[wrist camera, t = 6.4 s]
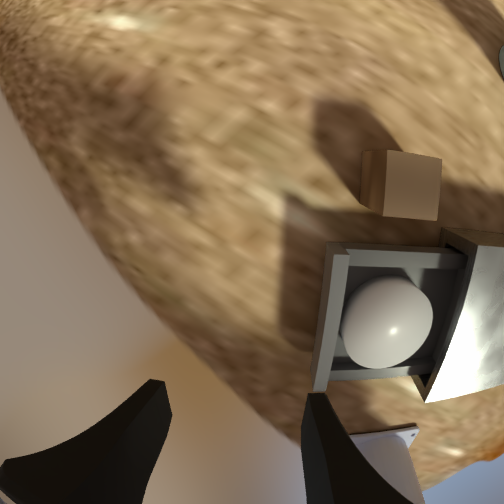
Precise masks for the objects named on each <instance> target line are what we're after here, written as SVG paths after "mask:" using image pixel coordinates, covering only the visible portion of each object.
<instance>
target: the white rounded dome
mask: <svg viewBox="0 0 504 504" xmlns="http://www.w3.org/2000/svg"><path fill="white" fill-rule="evenodd" d="M432 319H433V312H432V307H431V304H430V302H429V300H428V298H427V297H426V296H425V294H424V293H423V292H422V291H421V290H420V289H419V288H418V287H417V286H416V285H415V284H414V283H413V282H411V281H410V280H409V279H407V278H405V277H402V276H399V275H382V276H378V277H375V278H373V279H370V280H368V281H366V282H365V283H363V284H362V285H360V286H359V287H358V288H357V289H356V290H355V291H353V293H352V294H351V295H350V296H349V297H348V299H347V300H346V302H345V304H344V306H343V308H342V313H341V319H340V325H339V328H340V333H341V336H342V339H343V342H344V345H345V348H346V351H347V353H348V355H349V356H350V357H351V359H352V360H353V361H355V362H356V363H357V364H359V365H361V366H363V367H367V368H372V369H381V368H387V367H391V366H394V365H397V364H399V363H401V362H403V361H405V360H406V359H408V358H409V357H410V356H412V355H413V354H414V353H415V352H416V351H417V350H418V349H419V348H420V347H421V345H422V344H423V343H424V341H425V340H426V338H427V336H428V334H429V332H430V329H431V325H432Z"/></svg>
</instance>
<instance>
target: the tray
mask: <svg viewBox="0 0 504 504" xmlns="http://www.w3.org/2000/svg"><path fill="white" fill-rule="evenodd" d="M467 261H468V255H466V254H465V253H463V252H461V251H460V250H458V249H455V248H439V247H422V246H405V245H387V244H368V243H347V242H326V253H325V263H324V273H323V282H322V291H321V299H320V307H319V315H318V322H317V329H316V336H315V343H314V349H313V356H312V362H311V368H310V372H311V380H312V388H313V392H317V391H326V388H327V384H328V381H345V380H366V379H380V378H392V377H402V376H412V375H420V374H428V373H432V372H433V370H434V367H435V365H436V362H437V360H438V357H439V355H440V352H441V349H442V347H443V344H444V341H445V339H446V336H447V333H448V330H449V327H450V324H451V321H452V318H453V315H454V311H455V308H456V305H457V301H458V298H459V294H460V290H461V287H462V283H463V279H464V274H465V270H466V266H467ZM382 275H399V276H402V277H405V278H407V279H409V280H410V281H411V282H413V283H414V284H415V285H416V286H417V287H418V288H419V289H420V290H421V291H422V292H423V293H424V294H425V296H426V297H427V298H428V300H429V302H430V304H431V307H432V312H433V319H432V325H431V329H430V332H429V334H428V336H427V338H426V340H425V341H424V343H423V344H422V345H421V347H420V348H419V349H418V350H417V351H416V352H415V353H414V354H413V355H412V356H410V357H409V358H408V359H406V360H405V361H403V362H401V363H399V364H397V365H394V366H391V367H387V368H381V369H372V368H367V367H363V366H361V365H359V364H357V363H356V362H355V361H353V360H352V359H351V357H350V356H349V355H348V353H347V351H346V348H345V345H344V342H343V339H342V336H341V333H340V328H339V325H340V319H341V313H342V308H343V306H344V304H345V302H346V300H347V299H348V297H349V296H350V295H351V294H352V293H353V291H355V290H356V289H357V288H358V287H359V286H360V285H362V284H363V283H365V282H366V281H368V280H370V279H373V278H375V277H378V276H382Z"/></svg>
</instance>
